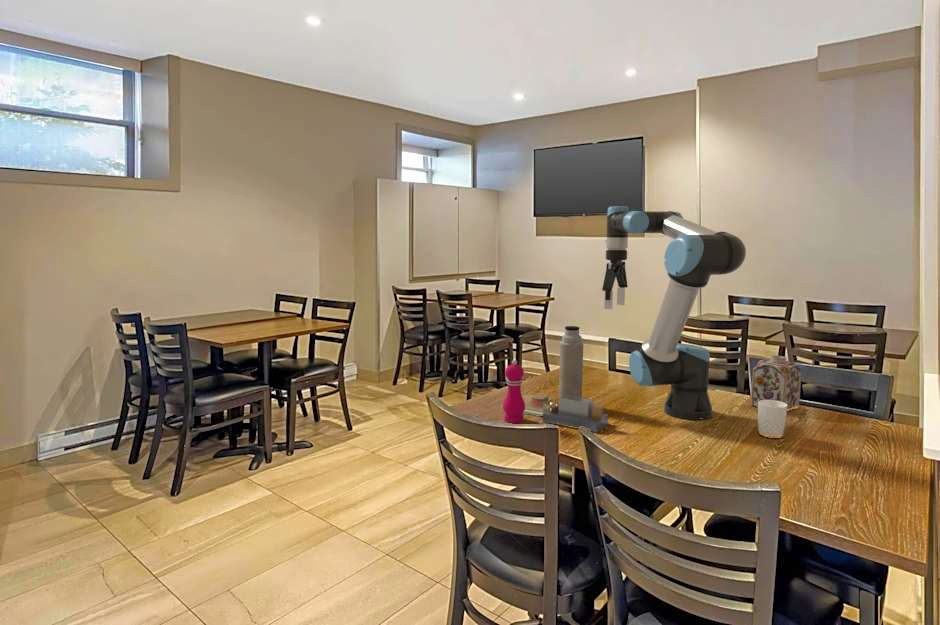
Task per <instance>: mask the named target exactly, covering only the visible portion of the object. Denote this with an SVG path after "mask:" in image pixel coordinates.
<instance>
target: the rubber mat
mask: <svg viewBox="0 0 940 625" xmlns="http://www.w3.org/2000/svg"><path fill="white" fill-rule="evenodd" d="M548 410H549V409H548ZM548 410H546V411H548ZM546 411H545V412H546ZM523 413H524V414H523ZM523 413H522V414H523V415H528V414H531V415H530V416H534V415H538V416H537V417H539V416H543V413H544V412H539V411H533V410H528V409H525V410H524V412H523Z"/></svg>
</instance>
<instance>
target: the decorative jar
mask: <svg viewBox="0 0 940 625" xmlns="http://www.w3.org/2000/svg"><path fill="white" fill-rule="evenodd" d="M751 379H752V380H751V390H750V391H751V392H750V404H751V405H755V406H758V401H760V400H776V401H780V402H784V403H786V404H787V405H788V408H787V409H790V408H792V407H795V406H800V400H801V399H800V397H801V384H802V370H801V368H800V367H799V366H798V365H797V364H796V363H795V362H793V361H790V360H789V361H788V360H787V358H786V356H782V355H771V356H770V359H769V358H768V359H767V358H766V359H762V360H759V361H758V362H757V364H755V366H754V367H753V371H752V378H751ZM751 405H750V406H751Z"/></svg>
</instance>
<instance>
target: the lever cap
mask: <svg viewBox="0 0 940 625" xmlns="http://www.w3.org/2000/svg"><path fill="white" fill-rule="evenodd" d="M522 398H523V400H524V403H525V409H528V410H533V411H539V412H545V411H546V410H548V409H550V402H553V398H551V397H549V395H544V394H538V393H537V394H535V395H534V394H528V393H526V394H523V395H522Z"/></svg>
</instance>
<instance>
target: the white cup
mask: <svg viewBox="0 0 940 625" xmlns="http://www.w3.org/2000/svg"><path fill="white" fill-rule="evenodd" d="M787 408H788V405H787V404H786V403H784V402H780V401H776V400H760V401H758V407H757V425H758V426H757V432H758V431H759V432H760V433H763V434H767V435H775V436H776V435H782V434H783V435H784V432H785V428H786V427H785V426H786V421H787V414H788V412H787Z"/></svg>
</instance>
